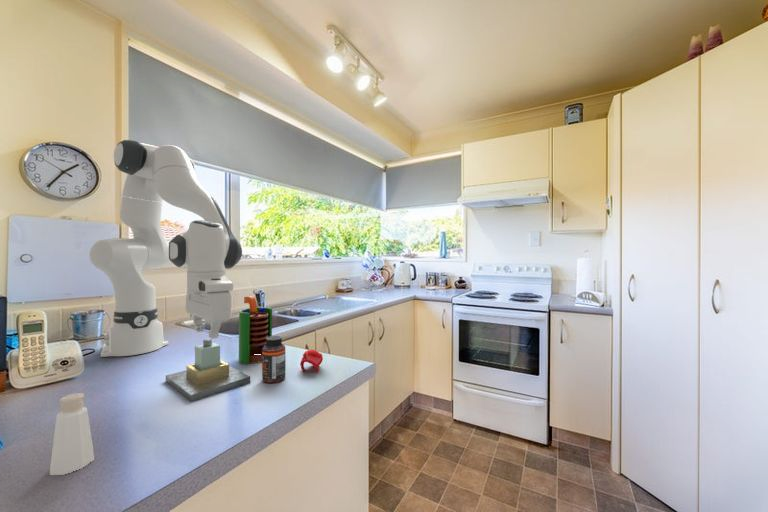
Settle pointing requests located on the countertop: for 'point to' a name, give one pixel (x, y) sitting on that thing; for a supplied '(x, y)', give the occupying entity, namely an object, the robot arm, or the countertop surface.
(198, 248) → the robot arm
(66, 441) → the salt shaker
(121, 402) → the countertop surface
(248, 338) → the motor
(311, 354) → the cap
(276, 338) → the supplement bottle
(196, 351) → the pale green flat box
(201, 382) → the mounting plate
